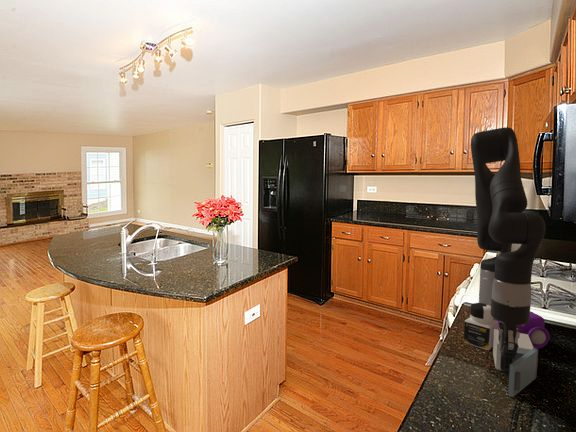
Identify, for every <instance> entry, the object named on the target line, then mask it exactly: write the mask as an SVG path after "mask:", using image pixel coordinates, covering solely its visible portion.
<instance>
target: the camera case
mask: <svg viewBox="0 0 576 432" xmlns="http://www.w3.org/2000/svg"><path fill="white" fill-rule="evenodd" d="M498 338H499V330H497V329H494V340H493V347H492V356H493V360H494V361H493V362H494V366H495V370H498V371H503V370H501V368H500V358H501V354H500V344H499V339H498ZM518 346H519V347H518V350H517V353H516V357H515V359H512V363H513V362H514V361H516V360H517V359H519V358H520V357H522V356H523V355H524V354H526V353H527V352H529V351H530V350H532V348H534V347H533V345H532V343H531V341H530V338H529V336H528V334H522V333H520V337H519V339H518ZM503 372H504V371H503Z"/></svg>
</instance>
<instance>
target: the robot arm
mask: <svg viewBox="0 0 576 432" xmlns="http://www.w3.org/2000/svg"><path fill="white" fill-rule="evenodd" d="M517 138H518V137H517V134H516V132H515V130H514V129H513V128H511V127H507V126H505V127H499V128H493V129H487V130H481V131H478V132H475V133H474V134H473V135H472V136H471V138H470V151H471V152H470V153H471V161H472V165H473V171H474V172H473V173H474V184H475V186H474V189H475V190H474V194H475V207H476V216H477V217H476V218H477V228H476V229H477V230H476V231H477V233H476V234H477V235H476V240H477V246H478V247H479V249H480V250H484V251H490V252H500V253H498V254H497V255H496V256H494V257H491V258H485V259H482V260H481V261H480V269H479V288H478V289H479V290H478V291H479V293H478V303H484V304H487V305H489V306H491V316H492V317H493V320H496V321H497V320H498V321H500V323H498V330H499V338H498V339H499V344H500V354H501V358H500V368H501V370H500V371H502V370H503V372H506V373H507V372H508V373H509V372H510V364H512V359H515V357H516V353H517V350H518V347H519V346H518V339H519V337H520V330H518V326H517V325H523V324H527V323H528V322H529V318H530V311H531V305H532V304H531V303H532V272H533V264H534V261H535V259H536V256H537V252H538V250H539V247H540V246H541V244H542V242H543V239H544V238H545V235H546V231H547V230H546V228H547V226H546V222H545V220H544V217H542V216H541V215H540V214H538V213H534V212H525V211H526V210H527V208H528V198H527V194H526V191H525V188H524V185H523V181H522V180H523V179H522V175H521V173H522V172H521V160H520V159H521V158H520V152H519V150H520V149H519V145H518V139H517ZM498 162H503V164H502V165H501V166H500V167H499V169H498V170H497V171H496V173H494V172H493V171H491V169H490V168H489V167H488V165H487V164H491V163H498ZM513 245H520V246H519V247H518V248H517V249H516V250H514V251H512V246H513ZM501 321H502V322H501Z"/></svg>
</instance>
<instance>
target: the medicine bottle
mask: <svg viewBox="0 0 576 432" xmlns="http://www.w3.org/2000/svg"><path fill="white" fill-rule="evenodd" d="M469 310H470V312H469V313H470V315H469V317H468V318H466V319H465V320H464V325H463V328H464V329H463V343H464V344H467V345H470V346H473V347H476V348H480V349H483V350H486V351H490V350H491V349H493V340H494V329H497V330H498V321H497V320H496V319H493V317H492V316H491V306H489V305H487V304H484V303H479V302H475V303H471V305H470V309H469Z"/></svg>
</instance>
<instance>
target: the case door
mask: <svg viewBox="0 0 576 432" xmlns="http://www.w3.org/2000/svg"><path fill="white" fill-rule="evenodd" d="M538 356H539V349H537V348H534V347H533V348H532V350H530V351H529V352H527V353H526V354H524V355H523V356H522V357H520V358H519V359H517V360H516V361H514V362H513V363H512V364H510V372H508V374H509V375H508V391H507V392H508V393H507V395H508V396H509V397H512V398H514V397H515V396H516V395H518V394H519V393H520V392H522V391H523V390H524V389H525V388H526V387H528V385H530V384H531V383H533V381H534V380H536V379H537V378H538V377H537V375H538V374H537V373H538V372H537V371H538V361H539V359H538V358H539V357H538Z"/></svg>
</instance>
